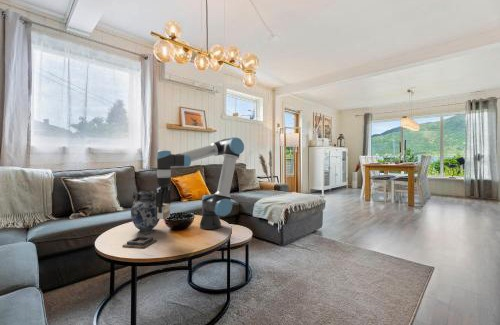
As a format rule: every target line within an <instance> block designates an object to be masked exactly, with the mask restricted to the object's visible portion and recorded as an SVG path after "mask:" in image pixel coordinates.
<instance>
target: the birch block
mask: <svg viewBox="0 0 500 325" xmlns="http://www.w3.org/2000/svg"><path fill="white" fill-rule="evenodd" d="M163 207H164V211H163V219H162V220H165V219H167V218H169V217H171V215H170V213H171V208H170V207H171V203H164V202H163ZM157 219H159V218H158V207H157Z"/></svg>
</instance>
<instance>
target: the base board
mask: <svg viewBox="0 0 500 325" xmlns="http://www.w3.org/2000/svg"><path fill="white" fill-rule="evenodd" d="M157 241H158V239H157V238H154V237H152V236H151V237H150V236H136V237H134V238H132V239H129V240H127V241H126V243H124V244H123V245H122V248H132V249H145V248H147V247H149V246H151V245H152V244H155V243H156V242H157Z"/></svg>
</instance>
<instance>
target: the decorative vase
mask: <svg viewBox="0 0 500 325" xmlns="http://www.w3.org/2000/svg"><path fill="white" fill-rule="evenodd" d="M131 198H133V200H134V201H133V203H132V206H131V209H130V217H131V220H132V224H133V225H134V226H135V228H137V229H138V231H137V234H138V235H139V234H140V235H147V234H148V235H149V234H153V233H154V232H155V230H154V228H156V226H157V225H158V224H159V221H160V220H161V219H157V207H156V192H154V191H153V190H150V189H149V190H140V191H139V192H137V191H135V190H134V191H132V192H131Z"/></svg>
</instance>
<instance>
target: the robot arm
mask: <svg viewBox="0 0 500 325" xmlns="http://www.w3.org/2000/svg"><path fill="white" fill-rule="evenodd" d="M244 150H245V144H244V141H243V140H242V139H241V138H240V137H235V136H234V137H229V138H223V139H221V140H218V141H216V142H211V144H210V145H205V146H203V147H202V146H201V147H198V148H195V149H191V150H187V151H183V152H179V153H176V154H173V153H172V151H171V150H158V151H157V154H156V177H157V178H156V184H157V185H158V187H157V188H155V193H156V207H158V218H159V219H160V220H164V219H163V211H164V207H163V203H169V204H171V202H172V200H171V198H172V187H171V186H169V185H170V184H171V182H172V180H171V177H172V175H171V174H172V172H171V170H172V168H188V167H191V164H192V163H193V162H195V161H199V160H201V159H206V158H208V157H212V156H215V157H217V156H222V157H223V162H222V165H221V166H222V167H221V171H220V177H219V180H218V185H217V190H216V192H215V193H213V194H206V195H205V194H204V195H202V198H201V207H202V208H201V212H202V213H201V219H200V223H199V228H200V229H203V230H215V229H216V230H217V229H219V228H221V227H222V223H221V218H220V217H225V216H226V217H227V215H229V214H230V213H231V211H232V209H233V203H232V201H231V200H232V199H231V198H232V195H231V194H230V192H231V188H232V184H233V182H232V181H233V178H234V173H235V168H236V164H237V160H239V159H240V155H241V154H242V153H243V152H244ZM191 162H192V163H191Z"/></svg>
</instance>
